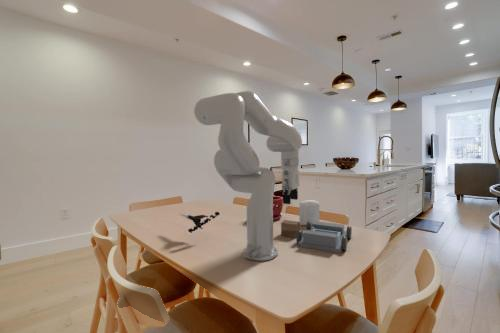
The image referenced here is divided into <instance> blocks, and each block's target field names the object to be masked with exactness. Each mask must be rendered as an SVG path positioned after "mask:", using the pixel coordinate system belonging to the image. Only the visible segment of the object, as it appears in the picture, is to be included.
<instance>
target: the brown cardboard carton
mask: <svg viewBox="0 0 500 333" xmlns="http://www.w3.org/2000/svg"><path fill="white" fill-rule="evenodd" d="M280 226H281V227H280V230H281V231H280V234H281V237H289V238H294V239H296V235H297V231H298V230H300V228H301V227H300V226H301V225H300V222H299V221H296V220H289V219H288V220H287V219H284V220H282V221H281V222H280Z"/></svg>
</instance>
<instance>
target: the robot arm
mask: <svg viewBox="0 0 500 333" xmlns="http://www.w3.org/2000/svg"><path fill="white" fill-rule="evenodd" d="M193 109H194V110H193V112H194V113H193V114H194V116H195V118H196V120H197V122H199V123H201V125H204V126H214V125H215V126H216V125H220V126H219V133H218V138H217V144H218V147H219V149H218V150H217V151H216V152H215V154H214V157H213V164H214V168H215V170H216V172H217V173H218V175H219V176H220V177H221V178H222V180H224V181H225V183H226V184H227V185H228V186H229V188H231V189H232V190H233V191H235V192H238V193H245V194H246V193H247V194H251V195H250V198H249V199H248V201H247V203H246V240H247V241H246V247H245V248H244V249H243V251H242V257H243V258H244V259H245V258H246V259H248V260H250V261H251V260H252V261H258V262H263V261H271V260H273V259H275V258H277V256H278V254H279V250H278V249H277V248H276V247H274V220H273V206H274V204H273V196H274V194H275V191H274V190H275V186H276V175H275V173H274V171H272V170H271V169H270V168H267V167H263V166H262V167H261V166H260V160H259V157H258V155H257V153H256V151H255V150H254V148H253V147H252V146H251V144H250V142H249V141H248V139H247V138H246V136H245V133H244V124H245V122H246V123H247V125H248V126H250V128H252V129H253V130H254V131H255V132H256V133H257V134H259V135H263V136H267V139H266V143H265V144H266V147H267V149H268V150H269V151H271V152H273V153H280V164H281V165H280V166H281V168H282V172H281V189H282V190H281V191H282V198H283V205H290V204H292V203H291V201H292V200H295V201H297V200H298V199H299V194H298V190H299V187H300V173H299V171H300V170H299V166H300V165H299V164H300V161H299V159H300V158H299V150H300V149H301V148H302V145H303V141H302V140H303V139H302V136H301V135H300V132H299V131H298V130H297V128H296V127H295V126H294V125H293V124H292V123H290V122H288V121H286V120H284V119H282V118H280V117H278V116H275V115H273V114H272V113H271V112H270V110H269V109H268V108H267V107H266V105H265V104H264V103H263V101H262V100H261V99H260V97H259V96H258V95H257V94H256V93H254V92H253V91H249V90H244V91H240V92H228V93H222V94H217V95H212V96H208V97H202V98H201V99H199V100H198V101H197V102H196V103H195V105H194V108H193Z"/></svg>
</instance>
